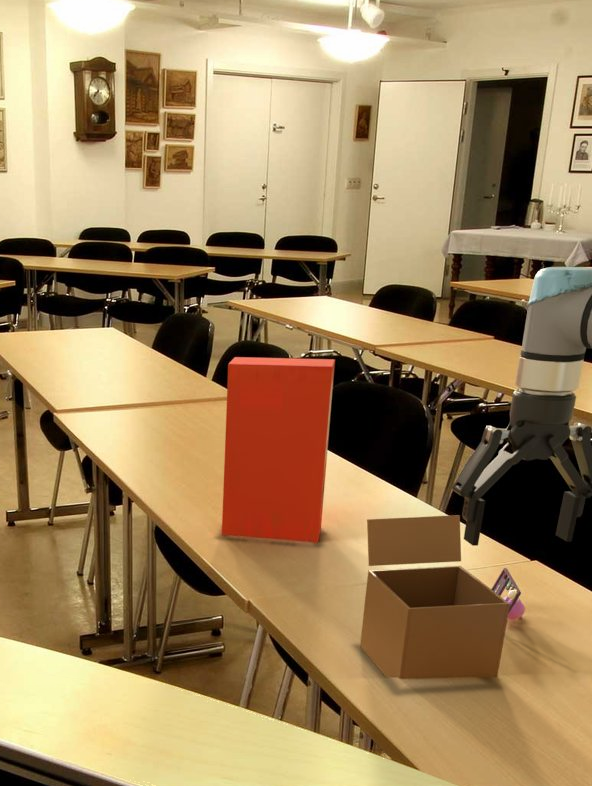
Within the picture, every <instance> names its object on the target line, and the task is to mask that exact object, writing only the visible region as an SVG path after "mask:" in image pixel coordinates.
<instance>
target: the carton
mask: <svg viewBox="0 0 592 786" xmlns="http://www.w3.org/2000/svg"><path fill="white" fill-rule="evenodd" d="M491 589H492V588H491V587H489V586H487V584H485V583H483V582H482V581H481V580H479V579H478V578H477V577H476V576H475V575H473V574H472V573H470V572H469V571H468V570H466V569H465V568H464V567H462V566H461V565H449V566H448V565H447V566H430V567H429V566H427V567H411V568H409V567H407V568H392V569H391V568H390V569H389V568H388V569H371V570H370V569H369V570H368V571H367V579H366V589H365V597H364V604H363V605H364V607H363V613H362V615H363V616H362V626H361V634H360V641H359V647H360V648H361V649H362V650H363V652H364V653H365V654H366V655H367V657H368V658H369V659H370V660H371V661H372V662H373V664H374V665H375V666H376V667H377V668H378V669H379V671H380V672H381V673H382V674H383V675H384V677H385V678H387V679H390V678H392V679H393V678H398V679H399V680H405V679H408V680H409V679H411V680H413V679H414V680H415V679H451V678H453V679H455V678H491V677H492V678H493V677H494V678H495V677H498V675H499V670H500V663H501V657H502V652H503V647H504V643H505V642H504V641H505V636H506V630H507V623H508V613H509V608H510V603H508V602H507V601H506V600H505V599H503V598H504V597H502V595H501V596H499V595H498V594H497V593H495V592H494V591H493V590H491Z"/></svg>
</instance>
